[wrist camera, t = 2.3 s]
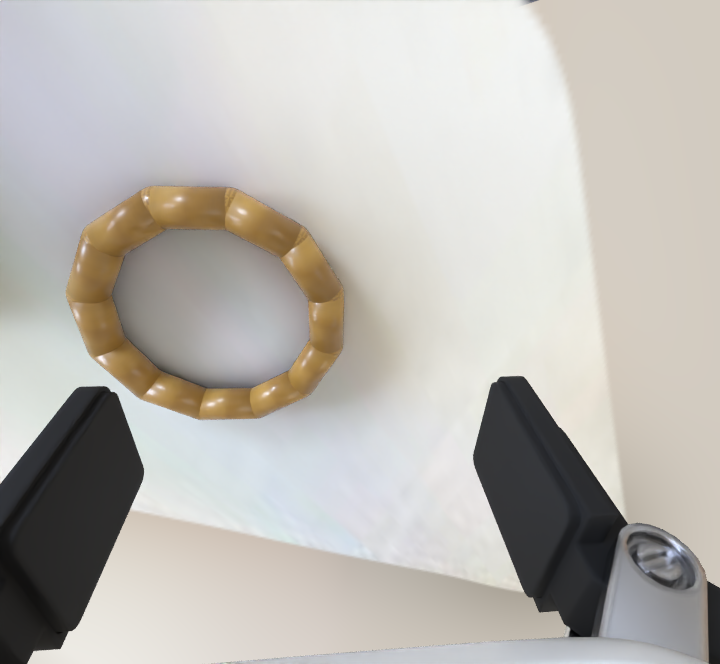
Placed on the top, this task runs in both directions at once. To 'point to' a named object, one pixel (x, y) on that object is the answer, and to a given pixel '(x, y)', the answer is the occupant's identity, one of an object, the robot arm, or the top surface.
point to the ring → (202, 212)
